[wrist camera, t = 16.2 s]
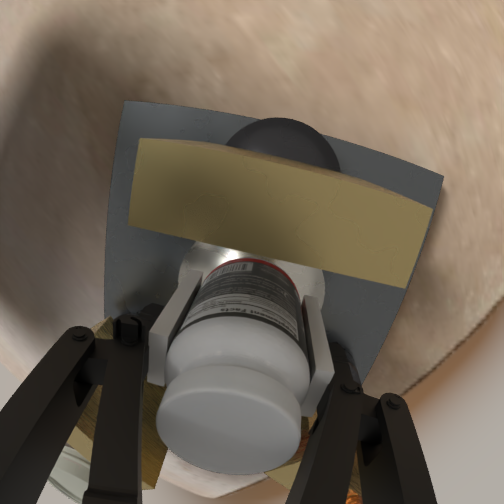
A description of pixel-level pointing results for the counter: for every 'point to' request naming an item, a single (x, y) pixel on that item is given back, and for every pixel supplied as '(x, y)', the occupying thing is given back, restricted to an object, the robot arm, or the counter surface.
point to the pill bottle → (237, 372)
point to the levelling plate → (210, 256)
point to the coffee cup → (70, 474)
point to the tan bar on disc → (289, 469)
